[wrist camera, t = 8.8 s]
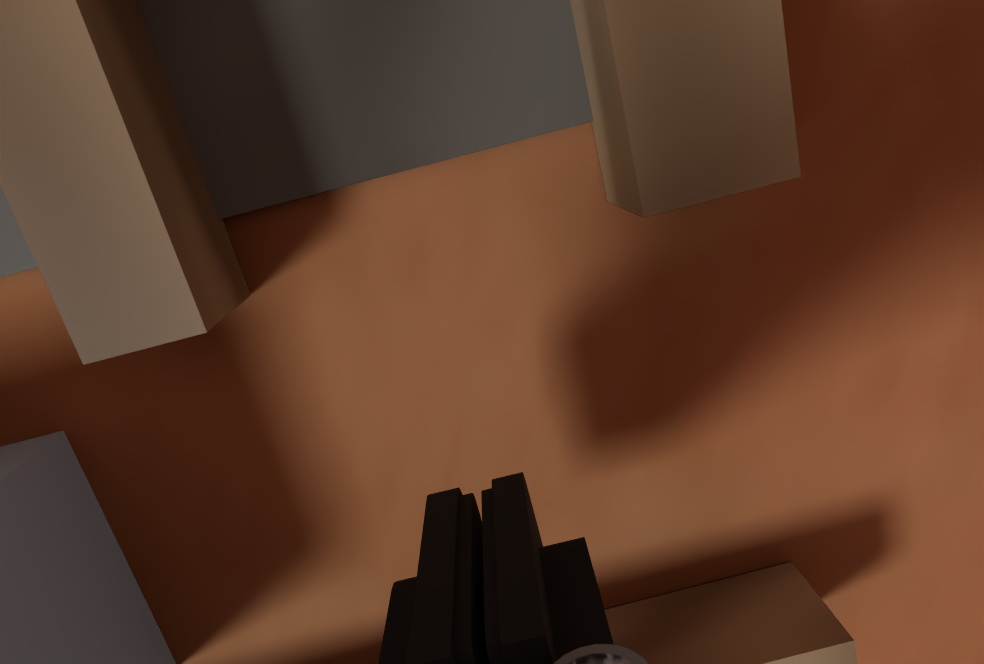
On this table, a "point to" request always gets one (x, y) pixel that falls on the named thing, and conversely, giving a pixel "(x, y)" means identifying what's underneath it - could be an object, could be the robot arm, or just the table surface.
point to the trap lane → (378, 169)
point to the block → (65, 567)
